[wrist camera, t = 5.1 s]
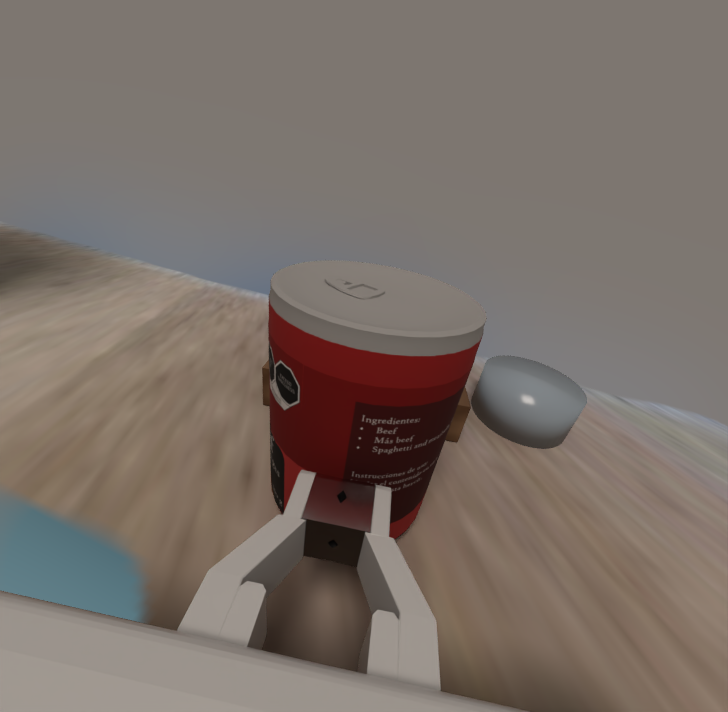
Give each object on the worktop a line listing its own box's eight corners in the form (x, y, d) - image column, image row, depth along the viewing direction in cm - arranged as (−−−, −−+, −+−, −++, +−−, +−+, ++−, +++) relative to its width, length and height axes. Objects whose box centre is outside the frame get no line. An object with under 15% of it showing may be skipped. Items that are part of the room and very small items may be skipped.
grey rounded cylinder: (479, 438, 22) (497, 398, 20) (464, 383, 28) (477, 349, 26) (581, 458, 22) (607, 420, 20) (543, 398, 28) (561, 365, 26)
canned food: (311, 419, 21) (324, 250, 16) (428, 459, 19) (487, 286, 14) (235, 517, 15) (212, 288, 9) (401, 592, 13) (493, 364, 7)
